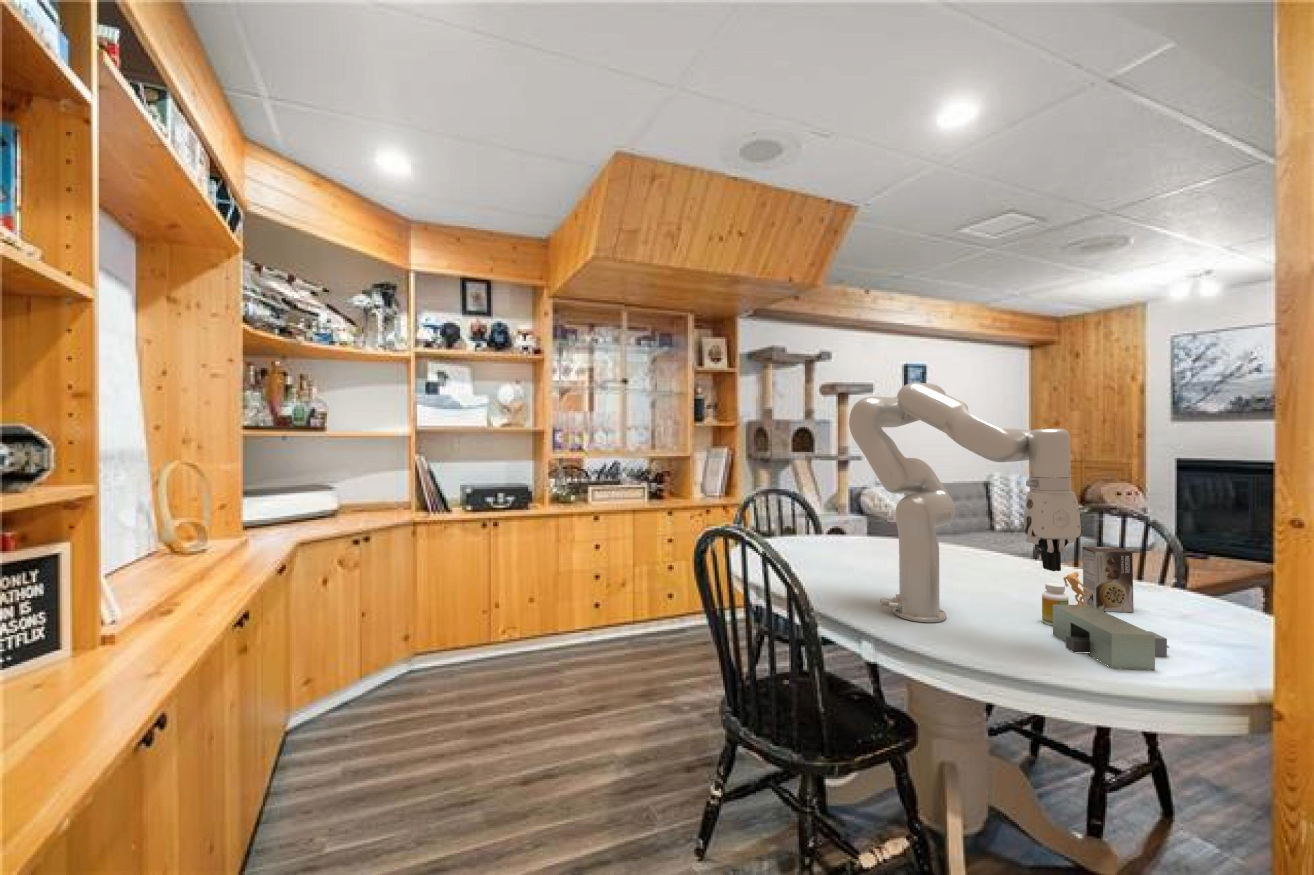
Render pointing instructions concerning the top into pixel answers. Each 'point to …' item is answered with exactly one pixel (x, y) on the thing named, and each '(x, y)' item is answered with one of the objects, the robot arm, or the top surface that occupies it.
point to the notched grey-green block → (1106, 636)
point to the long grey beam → (1084, 644)
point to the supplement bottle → (1052, 600)
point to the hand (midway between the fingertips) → (1051, 569)
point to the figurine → (1076, 586)
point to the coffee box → (1108, 578)
